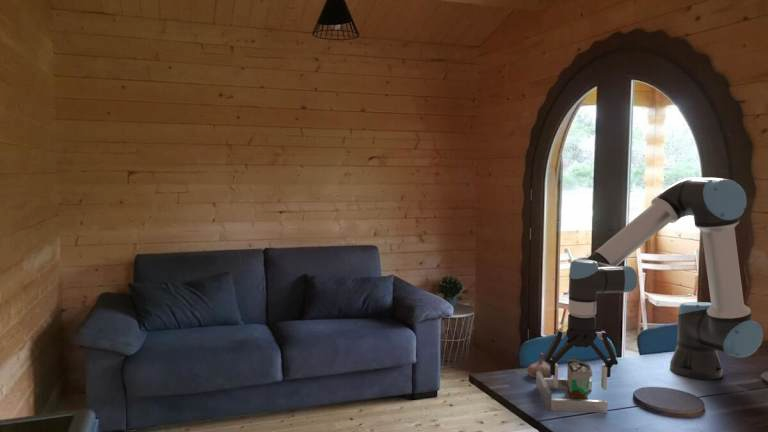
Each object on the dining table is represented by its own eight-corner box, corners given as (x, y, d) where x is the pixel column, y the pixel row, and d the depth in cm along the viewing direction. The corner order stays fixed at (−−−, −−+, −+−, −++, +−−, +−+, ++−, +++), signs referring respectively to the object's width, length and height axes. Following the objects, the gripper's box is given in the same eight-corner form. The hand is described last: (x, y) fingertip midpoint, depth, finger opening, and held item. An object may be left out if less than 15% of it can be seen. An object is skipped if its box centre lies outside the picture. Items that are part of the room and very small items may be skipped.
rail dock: (590, 389, 179) (591, 373, 179) (607, 412, 162) (607, 395, 162) (536, 387, 181) (536, 371, 180) (546, 410, 164) (547, 392, 163)
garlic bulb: (556, 378, 188) (557, 354, 188) (540, 382, 185) (540, 357, 184) (539, 371, 195) (540, 347, 194) (522, 375, 191) (523, 351, 191)
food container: (594, 409, 165) (595, 373, 164) (571, 407, 166) (572, 372, 165) (588, 392, 177) (589, 359, 176) (566, 391, 178) (567, 358, 177)
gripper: (622, 312, 172) (620, 383, 174) (535, 310, 174) (533, 380, 176) (631, 319, 164) (628, 393, 166) (539, 316, 167) (537, 390, 168)
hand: (579, 387), depth 171 cm, fingers open, 13 cm apart
